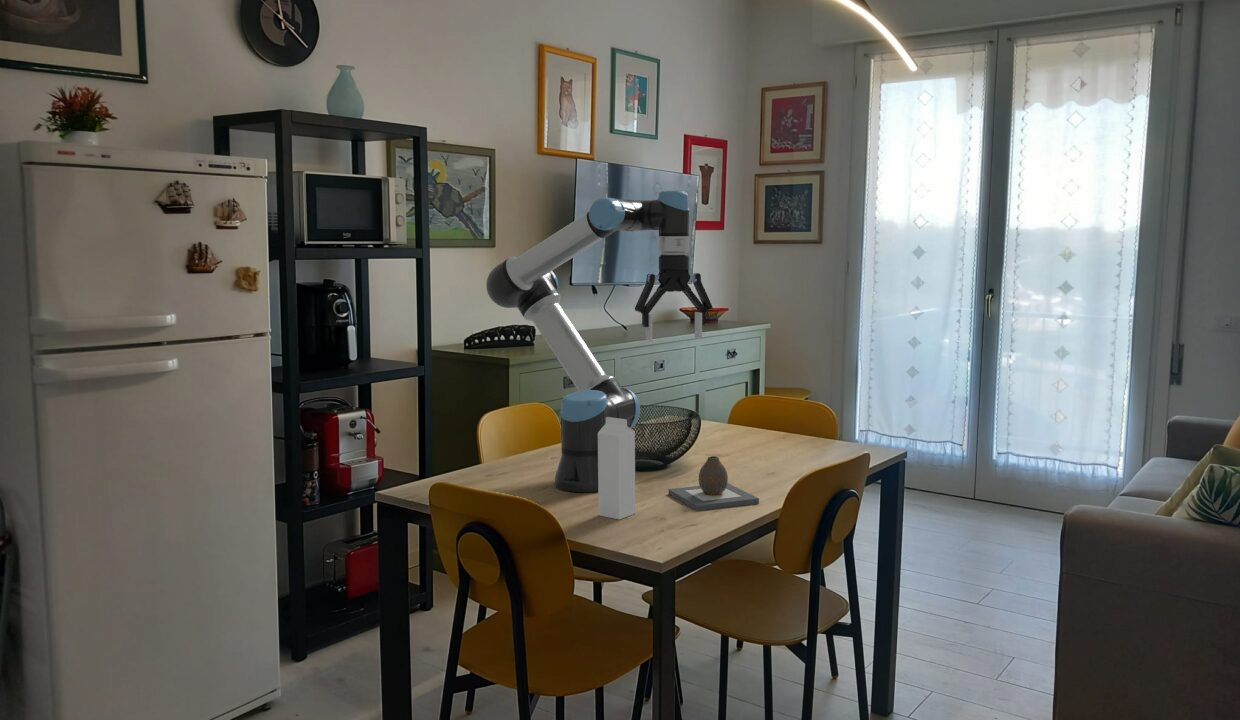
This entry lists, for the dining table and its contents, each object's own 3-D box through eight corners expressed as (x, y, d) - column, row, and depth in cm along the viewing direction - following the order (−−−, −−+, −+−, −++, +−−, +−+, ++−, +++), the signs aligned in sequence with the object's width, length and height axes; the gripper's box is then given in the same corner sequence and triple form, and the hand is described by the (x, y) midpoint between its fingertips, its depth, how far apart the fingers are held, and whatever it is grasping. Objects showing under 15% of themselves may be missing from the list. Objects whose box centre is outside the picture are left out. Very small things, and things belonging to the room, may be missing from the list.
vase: (729, 497, 221) (729, 460, 220) (699, 497, 221) (699, 460, 220) (726, 489, 228) (726, 454, 227) (697, 489, 228) (697, 454, 227)
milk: (614, 509, 216) (613, 414, 214) (635, 514, 212) (635, 417, 210) (597, 515, 211) (597, 418, 209) (619, 520, 207) (618, 421, 205)
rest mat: (697, 510, 214) (697, 505, 214) (668, 493, 229) (668, 488, 229) (758, 503, 220) (759, 498, 220) (727, 487, 235) (727, 482, 235)
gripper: (632, 254, 226) (633, 342, 229) (725, 253, 235) (725, 338, 237) (621, 254, 233) (622, 339, 235) (712, 253, 242) (711, 335, 244)
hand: (673, 339), depth 236 cm, fingers open, 13 cm apart
